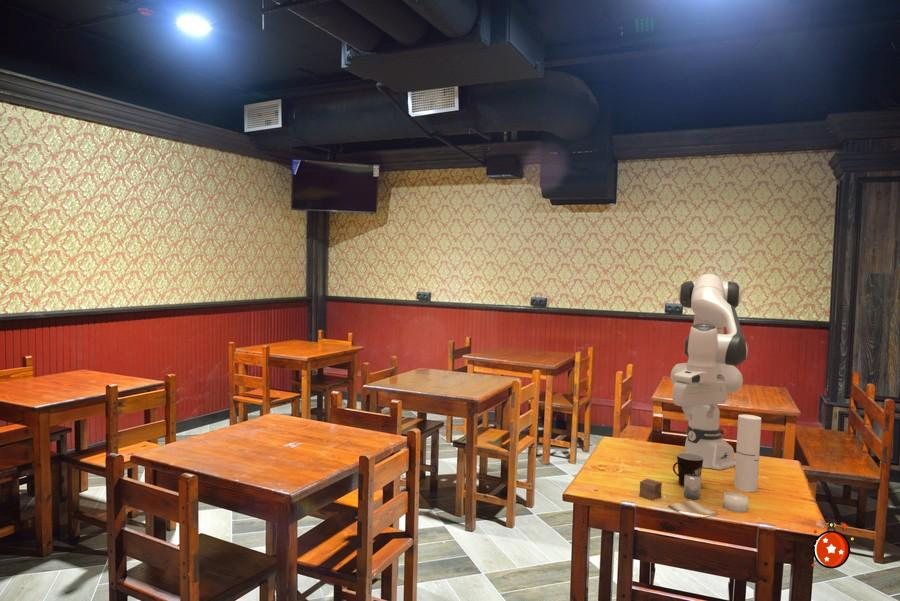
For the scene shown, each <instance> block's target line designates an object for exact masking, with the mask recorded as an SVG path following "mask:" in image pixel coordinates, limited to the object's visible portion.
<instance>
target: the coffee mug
mask: <svg viewBox="0 0 900 601" xmlns="http://www.w3.org/2000/svg"><path fill="white" fill-rule="evenodd" d="M676 458H677V460H676V462H675V463H674V464H673V465H672V471H673V473H674V475H676V476H678V484H679V486H681V487H684V477H685V474H695V475H698V476H700V477H701V476H702V470H703V467H702V465H703V459H704V458H703V457H702V456H700V455H696V454H692V453H684V452H679V453H677V455H676ZM676 466H677V471H678V472H676V470H675V469H676Z"/></svg>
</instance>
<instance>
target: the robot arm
mask: <svg viewBox="0 0 900 601" xmlns="http://www.w3.org/2000/svg"><path fill="white" fill-rule="evenodd" d="M677 296H678V297H677V298H678V300H679V303H680V305H681V306H682V307H683V308H687V309H691V310H692V312H693V314H694V316H693V317H694V318H693V324H692V326H691V327H690V332H689V334H688V336H687V337H686V338H685V339H684V355H685V356H686V357H687V358H688V360H687V362H681V363H676V364H675V365H674V366H673V367H672V369H671V372H670V379H671V380H670V381H671V383H672V384H673V388H672V403H673V404H674V406H677V407H681V409H682V411H683V414H684V420H686V421H688V422H687V423H688V424H686V439H685V444H684V448H683V449H684V450H683V453H692V454H696V455H700V456H702V457H703V458H704V459H703V465H702V469H703V468H706V469H714V470H720V471H722V470H726V469H729V468H732V467H735V466H736V457H735V451H734V448H733V446H732V445H731V444H729V443H728V442H727V441H726V440H725V439H724V438H723V435H727V429H724V428H720V412H721V411H720V408H719V407H718V405H721V404H725V403H726V402H727V399H728V394H735V393H737V392H739V391H740V390H741V388H742V386H743V383H744V379H743V374H742V373H741V371H740V370H739V368H737V366H739V365H741V364H742V363H744V362H745V361H746V360H747V357H748V351H749V350H748V344H747V342H746V338H745V336H744V334H743V331H742V328H741V323H740V320H739V317H738V313H737V310H736V308H738V307H739V305H740V302H741V301H742V290H741V287H740V285H739V284H738V283H737V282H735V281H724V280H722V279H721V278H720V277H719V276H717V275H716V274H713V273H704V274H701V275H700V276H699V277H698V278H697V279H696V280H695V281H692V280H688V281H684V282H682V284H680V287H679V289H678V294H677ZM724 329H726V332H727V333H726V334H724V332H725V331H724ZM722 434H723V435H722Z"/></svg>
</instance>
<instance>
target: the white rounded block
mask: <svg viewBox="0 0 900 601" xmlns="http://www.w3.org/2000/svg"><path fill="white" fill-rule="evenodd" d="M722 504H723V505H722V508H723V509H725V510H727V511H729V512H732V513H741V514H743V513H747V512H748V511H749V497H748V496H747V495H746V494H743V493H739V492H732V491H727V492H724V493H723V502H722Z"/></svg>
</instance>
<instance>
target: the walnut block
mask: <svg viewBox="0 0 900 601" xmlns="http://www.w3.org/2000/svg"><path fill="white" fill-rule="evenodd" d="M662 486H663V484H662V482H661V481H659V480H655V479H651V478H645V479H643V480H641V481H639V493H638V496H639V497H640V498H644V499H647V500H649V499H650V500H649V501H653V500H654V501H656V500H658V499H660V498H662ZM657 498H658V499H657ZM655 499H656V500H655Z"/></svg>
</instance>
